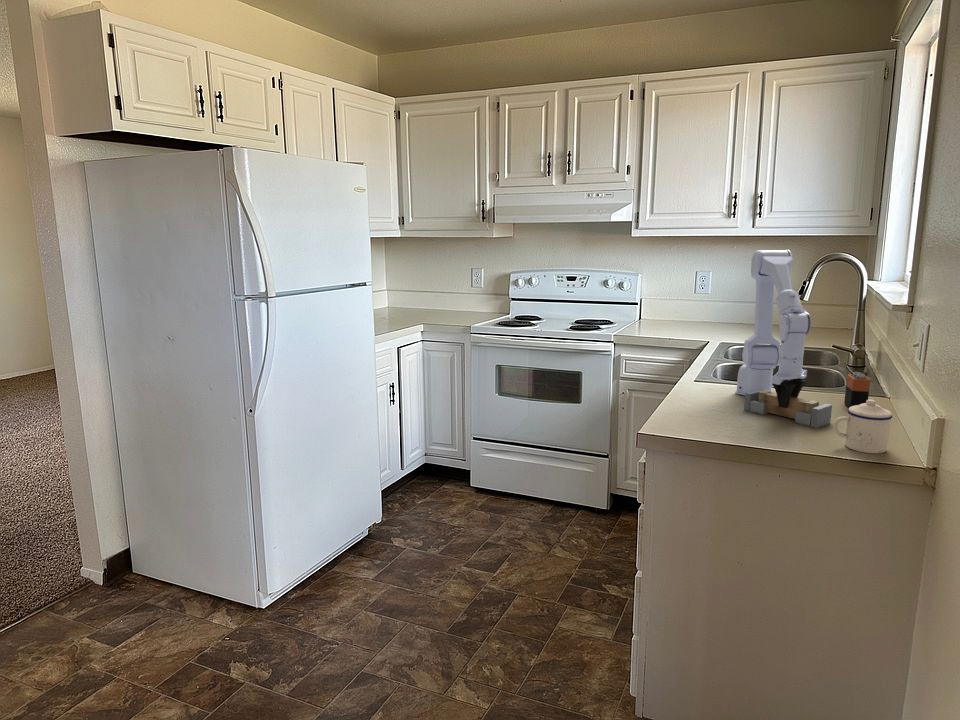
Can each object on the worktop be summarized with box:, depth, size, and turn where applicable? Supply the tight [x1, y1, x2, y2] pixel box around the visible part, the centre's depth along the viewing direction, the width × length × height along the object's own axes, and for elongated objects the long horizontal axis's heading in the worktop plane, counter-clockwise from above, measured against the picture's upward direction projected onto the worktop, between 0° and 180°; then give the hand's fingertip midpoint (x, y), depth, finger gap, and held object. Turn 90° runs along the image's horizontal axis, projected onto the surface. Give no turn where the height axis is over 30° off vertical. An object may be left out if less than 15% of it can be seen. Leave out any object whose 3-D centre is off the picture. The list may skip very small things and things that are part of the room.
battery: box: [843, 371, 871, 409], centre depth 188 cm, size 4×7×10 cm, turn 165°
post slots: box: [743, 389, 833, 429], centre depth 180 cm, size 21×7×5 cm, turn 37°
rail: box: [758, 390, 820, 420], centre depth 180 cm, size 15×3×5 cm, turn 37°
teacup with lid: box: [832, 398, 893, 454], centre depth 155 cm, size 12×9×12 cm
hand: (786, 406), depth 180 cm, fingers closed on rail, 3 cm apart
